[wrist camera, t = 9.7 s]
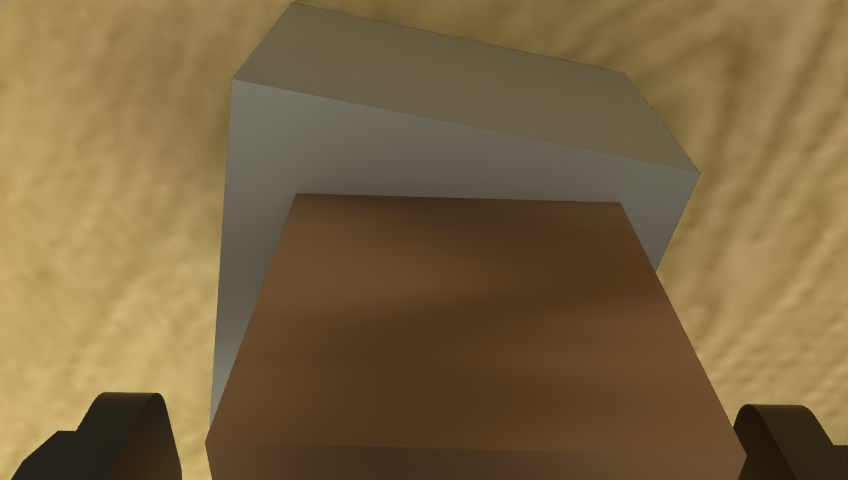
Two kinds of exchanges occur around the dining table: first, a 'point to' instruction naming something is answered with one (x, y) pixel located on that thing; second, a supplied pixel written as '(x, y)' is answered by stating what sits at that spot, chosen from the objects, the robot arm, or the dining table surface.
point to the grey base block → (424, 139)
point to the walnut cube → (466, 351)
